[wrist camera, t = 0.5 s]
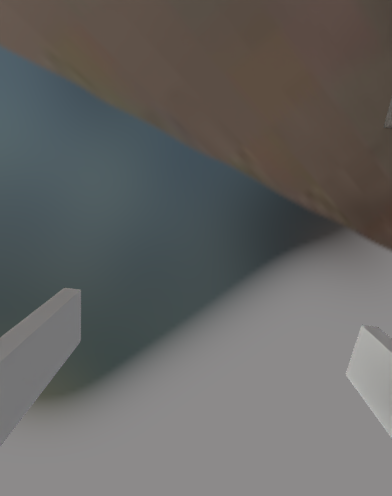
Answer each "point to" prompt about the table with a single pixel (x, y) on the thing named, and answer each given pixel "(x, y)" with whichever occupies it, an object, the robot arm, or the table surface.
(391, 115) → the white base plate
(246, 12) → the table surface
